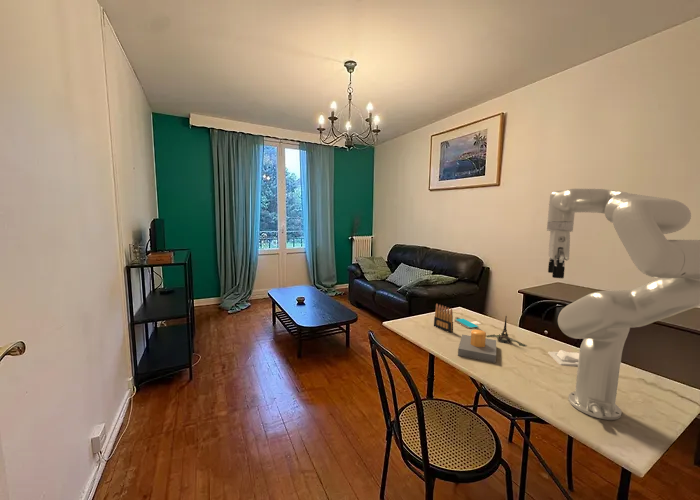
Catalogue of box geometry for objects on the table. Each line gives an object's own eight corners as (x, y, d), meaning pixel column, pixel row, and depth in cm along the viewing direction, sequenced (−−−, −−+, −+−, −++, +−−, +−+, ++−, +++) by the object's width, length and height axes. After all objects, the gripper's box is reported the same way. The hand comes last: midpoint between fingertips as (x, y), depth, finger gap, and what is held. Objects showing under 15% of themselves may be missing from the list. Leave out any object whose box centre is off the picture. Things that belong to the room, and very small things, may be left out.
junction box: (495, 362, 120) (496, 346, 119) (457, 355, 126) (458, 340, 125) (495, 346, 135) (496, 332, 134) (461, 340, 140) (462, 326, 140)
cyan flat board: (492, 330, 154) (492, 327, 154) (472, 333, 151) (472, 329, 151) (466, 317, 173) (466, 314, 173) (448, 319, 170) (448, 316, 170)
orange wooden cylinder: (484, 348, 126) (485, 335, 126) (470, 345, 129) (471, 333, 128) (485, 342, 131) (486, 331, 131) (471, 340, 134) (471, 328, 133)
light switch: (547, 346, 129) (581, 346, 127) (547, 355, 130) (581, 356, 127) (559, 358, 119) (597, 359, 116) (559, 368, 119) (597, 369, 117)
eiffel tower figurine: (527, 347, 136) (530, 318, 134) (510, 350, 132) (512, 320, 130) (500, 334, 150) (502, 307, 148) (484, 337, 146) (486, 309, 144)
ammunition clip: (433, 326, 158) (434, 303, 157) (436, 325, 160) (437, 302, 158) (450, 332, 150) (451, 309, 148) (453, 332, 151) (454, 308, 149)
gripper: (578, 228, 98) (573, 281, 100) (567, 226, 113) (563, 272, 115) (551, 227, 101) (546, 279, 103) (543, 225, 116) (540, 270, 119)
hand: (555, 275), depth 109 cm, fingers open, 9 cm apart
